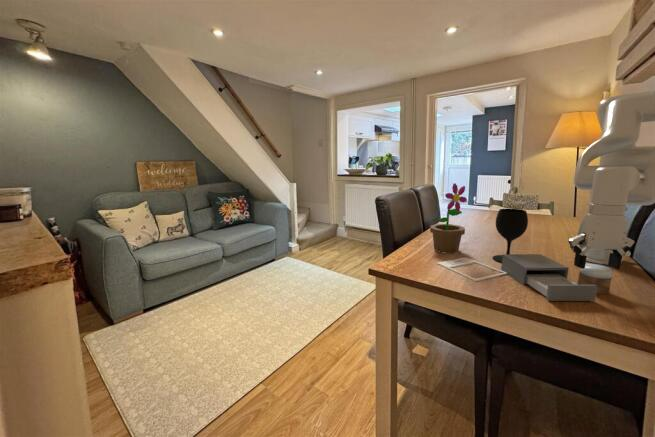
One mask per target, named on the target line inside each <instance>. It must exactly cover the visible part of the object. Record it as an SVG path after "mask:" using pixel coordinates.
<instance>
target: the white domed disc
mask: <svg viewBox="0 0 655 437" xmlns="http://www.w3.org/2000/svg"><path fill="white" fill-rule="evenodd" d="M580 272H581V273H582V274H584V275H587V276H591V277H595V278H603V279H608V278H611V277H612V278H613V272H614V271H613V268H612V267H610V266H607V265H603V264H598V263H590V262H589V263H587V262H586V264H585V268H584V269H581V268H579V273H580Z"/></svg>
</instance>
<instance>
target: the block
mask: <svg viewBox="0 0 655 437" xmlns="http://www.w3.org/2000/svg"><path fill="white" fill-rule="evenodd" d="M612 278H613V276H612V277H611V278H608V279H603V278H595V277H591V276H587V275H584V274H582V273H581V272H580V271H579V274H578V280H577V284H578V285H597V292H596V294H609V293H610V288H611V283H612Z"/></svg>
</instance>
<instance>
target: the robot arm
mask: <svg viewBox="0 0 655 437" xmlns="http://www.w3.org/2000/svg"><path fill="white" fill-rule="evenodd" d="M597 119H598V122H599V125H600V129H601V133H600V134H601V135H600V138H599V139H596V141H593V143H591V144H590V145H589V146H587V147H586V148H585V149H584V151H582V152H581V154H580V155H579V157H578V158H577V163H576V167H575V172H574V175H573V184H574V186H575V188H577V189H578V190H582V191H589V203H588V210H587V213H584V215H583V217H582V219H581V222H580V224H579V228H578V231H577V235H576V236H572V237H571V238H569V239H568V241H567V242H568V244H569V247H570V249H571V250H572V252H573V253H574V254H575V255H574V261H573V262H574V263H573V266H575V267H577V268H579V269H580V268H581V269H584V268H585V264H586V263H587V262H589V263H592V264H597V265H604V266H607V267H609V268H612V269H616V270H620V269H621V265H622V263H623V257H630V256H631V254H632V253H631V251H630V249H631V247H632V246H633V245H634V244H635V240H633V239H632V238H629V237H628V236H627V217H626V216H625V213H626V212H627V211H628V210H629V208H628V206H627V205H632V206H651V205H654V204H655V145H644V146H643V145H642V146H641V145H640V146H636V143H637V142H638V140H639V137H640V134H641V133H640V132H641V124H642V123H645V122H646V123H649V122H655V90H651V91H650V90H649V91H642V92H635V93H625V94H619V95H614V96H610V97H606V98H604V99H602V100H601V101H600V102H599V103H598V106H597ZM598 158H599V162H598V163H599V164H598V165H589V164H590V163H591V162H593V161H594V160H595V159H598ZM641 176H642V177H641Z"/></svg>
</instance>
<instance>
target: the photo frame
mask: <svg viewBox="0 0 655 437" xmlns="http://www.w3.org/2000/svg"><path fill="white" fill-rule="evenodd" d="M472 264H477V265H480V266H483V267H486V268H488V269H490V270H494V271H495V272H499V273H496V274H492V275H491V274H490V275H488V276H487V275H486V276H483V277H478V278H475V277H472V276H470V275H468V274H465V273H463V272H461V271H458V270H456V269H455V268H457V267H462V266H463V267H464V266H468V265H472ZM437 265H439V266H440V267H443V268H445V269H448V270H449V271H451V272H453V273H456V274H459V275H461V276H464V277H465V278H468V279H470V280H472V281H475V282H480V281H483V280H487V279H488V280H489V279H492V278H496V277H501V276H505V275H508V274H507V273H506V272H504V271H502V270H500V269H498V268H495V267H493V266H490V265H487V264H484V263H482V262H479V261H476V260H474V259H472V258H469V257H466V256H465V257H461V258H456V259H450V260H446V261H445V260H444V261H440V262H439V261H438V262H437Z"/></svg>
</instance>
